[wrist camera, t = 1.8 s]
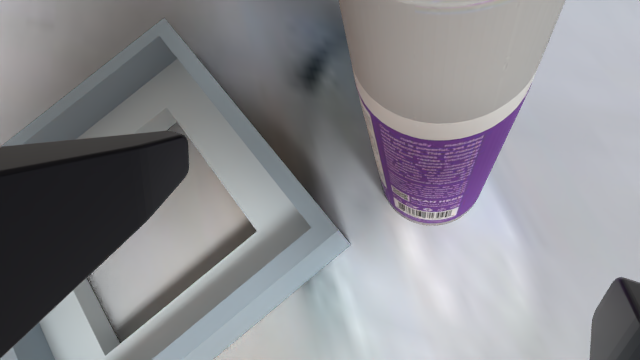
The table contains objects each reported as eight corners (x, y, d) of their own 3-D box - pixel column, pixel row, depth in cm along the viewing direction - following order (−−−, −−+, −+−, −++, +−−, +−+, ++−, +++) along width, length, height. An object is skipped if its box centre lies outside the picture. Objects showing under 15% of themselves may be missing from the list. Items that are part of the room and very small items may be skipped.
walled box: (102, 451, 20) (42, 475, 17) (-3, 213, 26) (-64, 197, 23) (350, 244, 21) (338, 230, 18) (195, 55, 26) (164, 17, 23)
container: (503, 179, 20) (688, -137, 6) (430, 246, 20) (457, 69, 6) (431, 116, 22) (452, -241, 8) (362, 177, 22) (264, -83, 8)
